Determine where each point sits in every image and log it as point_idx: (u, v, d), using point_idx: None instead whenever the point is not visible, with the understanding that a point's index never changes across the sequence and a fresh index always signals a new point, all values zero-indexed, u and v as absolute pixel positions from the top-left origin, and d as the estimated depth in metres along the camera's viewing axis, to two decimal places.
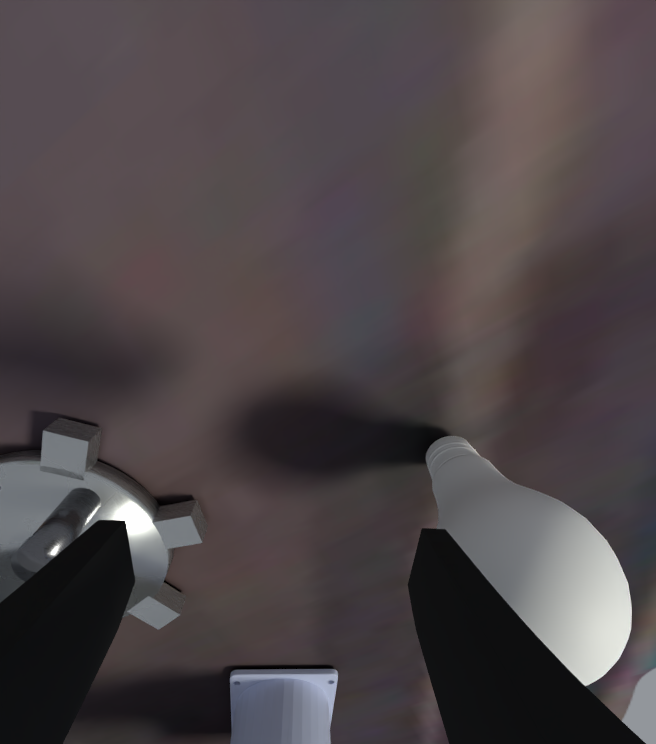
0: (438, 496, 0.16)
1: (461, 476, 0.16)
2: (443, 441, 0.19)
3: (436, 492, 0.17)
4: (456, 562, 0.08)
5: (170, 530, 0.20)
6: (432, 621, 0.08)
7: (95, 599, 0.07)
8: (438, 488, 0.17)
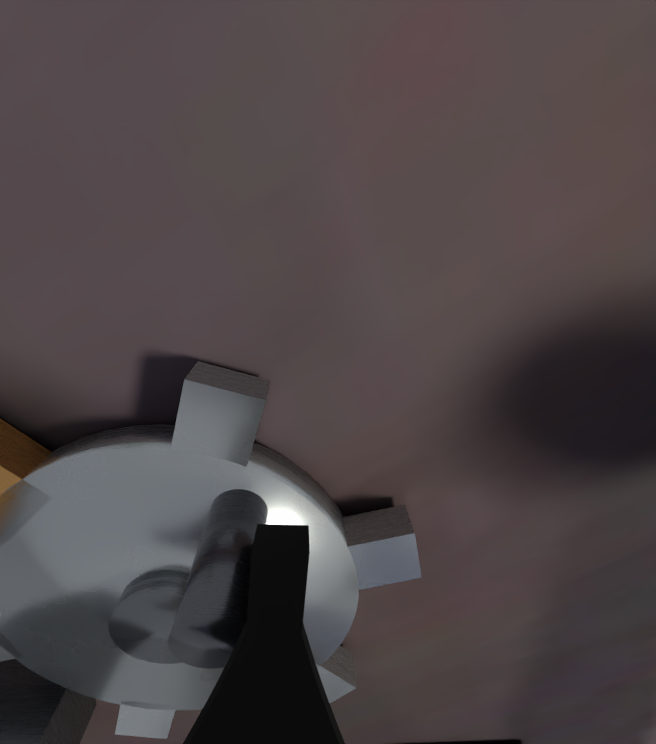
0: None
1: None
2: None
3: None
4: (266, 558, 0.07)
5: (374, 559, 0.11)
6: None
7: None
8: None
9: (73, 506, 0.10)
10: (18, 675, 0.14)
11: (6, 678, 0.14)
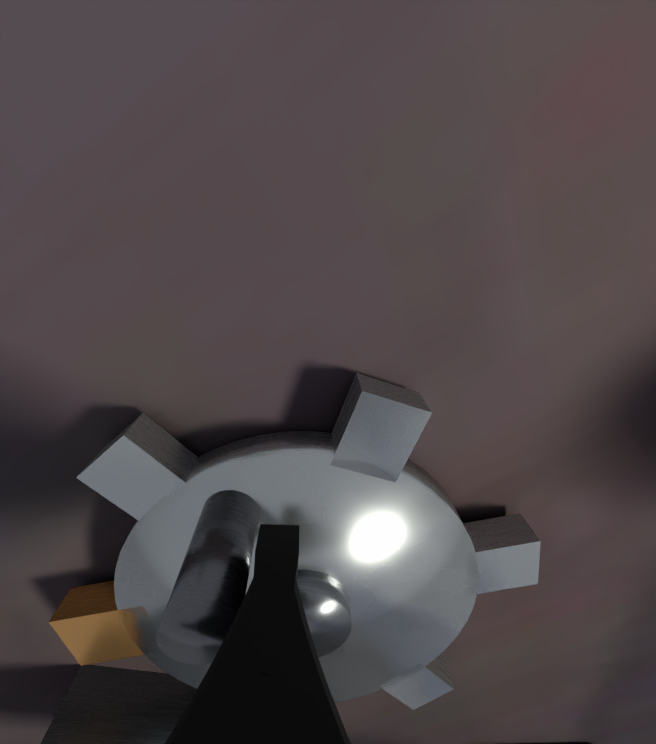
0: None
1: None
2: None
3: None
4: (270, 558, 0.07)
5: (369, 441, 0.10)
6: None
7: None
8: None
9: (158, 600, 0.12)
10: (148, 690, 0.15)
11: (138, 691, 0.15)
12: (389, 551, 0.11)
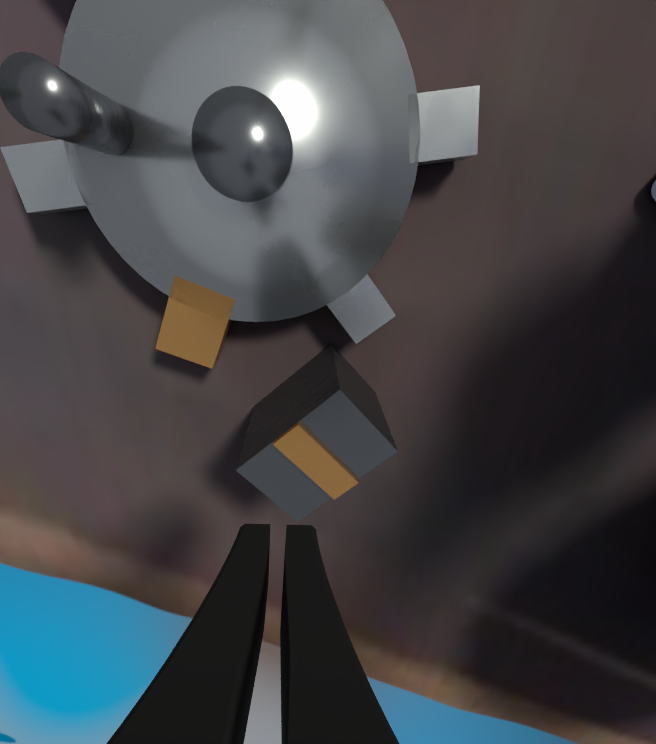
0: None
1: None
2: None
3: None
4: (301, 559, 0.07)
5: None
6: (282, 619, 0.08)
7: (261, 600, 0.08)
8: None
9: (174, 260, 0.14)
10: (298, 375, 0.17)
11: (292, 380, 0.17)
12: (225, 13, 0.11)
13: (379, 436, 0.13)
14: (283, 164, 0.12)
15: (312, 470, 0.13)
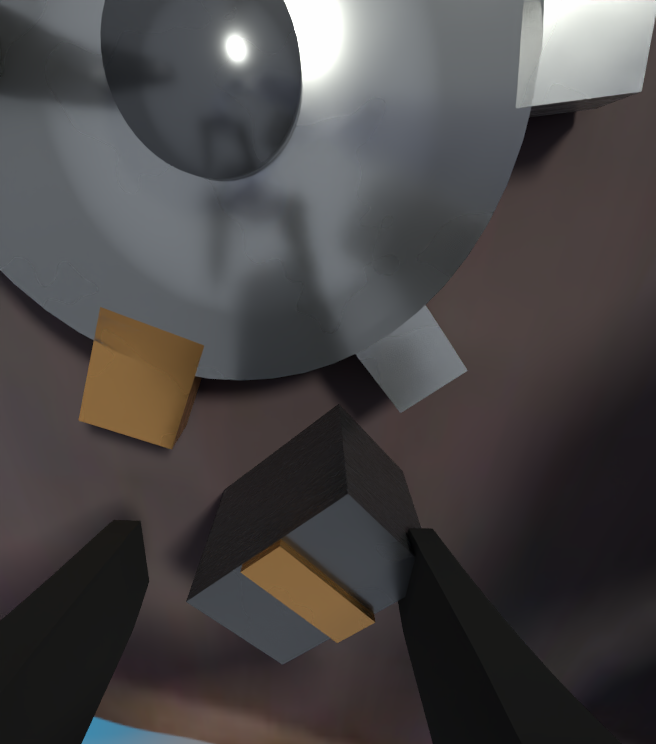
0: None
1: None
2: None
3: None
4: (441, 562, 0.08)
5: None
6: (417, 620, 0.08)
7: (113, 599, 0.07)
8: None
9: (98, 282, 0.08)
10: None
11: None
12: None
13: (409, 559, 0.08)
14: (283, 104, 0.06)
15: (303, 605, 0.09)
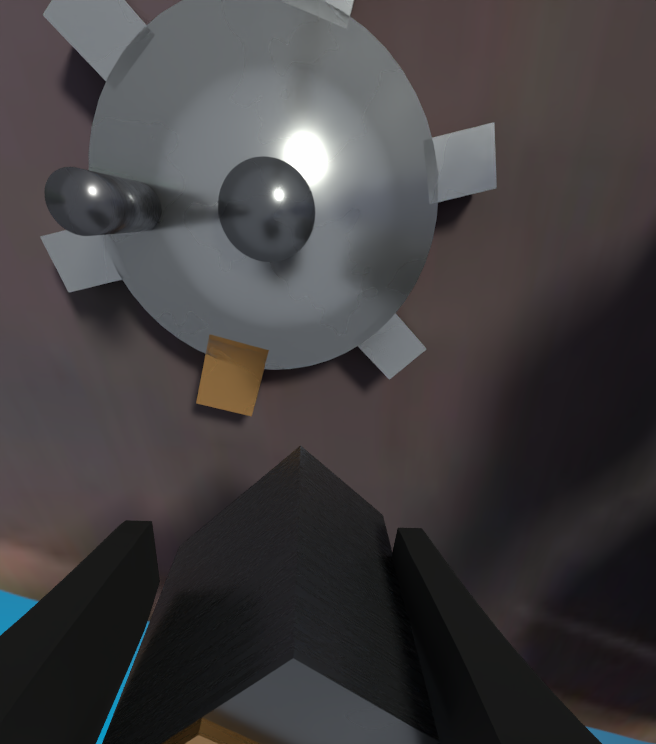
0: None
1: None
2: None
3: None
4: (428, 561, 0.08)
5: (99, 37, 0.11)
6: None
7: (126, 599, 0.07)
8: None
9: (209, 320, 0.14)
10: (244, 507, 0.09)
11: (234, 518, 0.09)
12: (240, 88, 0.11)
13: (396, 725, 0.06)
14: (307, 223, 0.12)
15: None
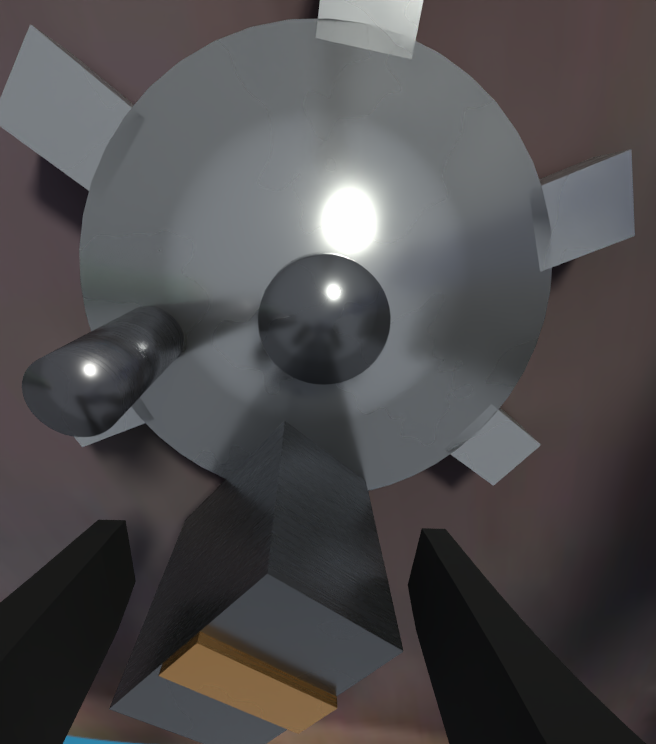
0: None
1: None
2: None
3: None
4: (456, 562, 0.08)
5: (71, 135, 0.08)
6: (432, 621, 0.08)
7: (95, 599, 0.07)
8: None
9: None
10: (238, 477, 0.11)
11: (230, 487, 0.11)
12: (269, 167, 0.08)
13: (363, 635, 0.07)
14: (380, 329, 0.09)
15: (245, 701, 0.07)
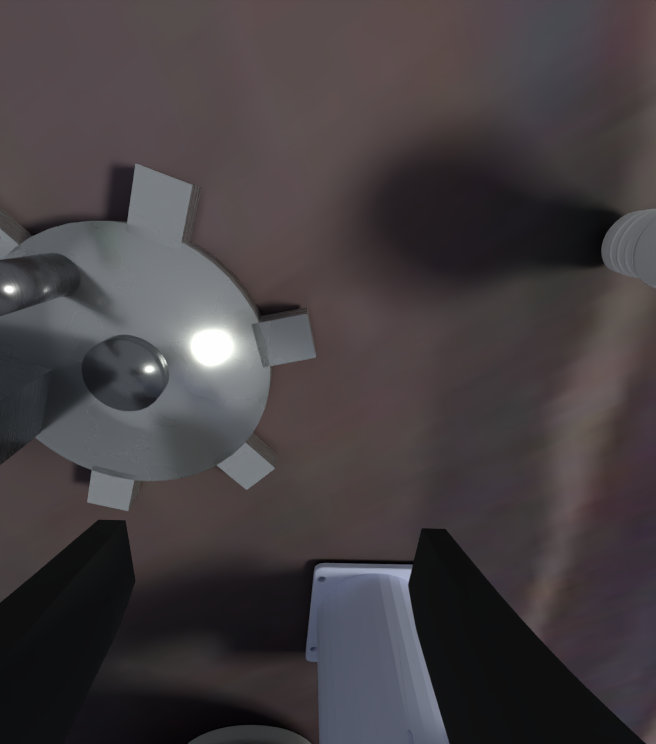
0: None
1: None
2: (634, 213, 0.15)
3: (653, 245, 0.13)
4: (456, 562, 0.08)
5: (150, 210, 0.13)
6: (432, 621, 0.08)
7: (96, 599, 0.07)
8: None
9: None
10: None
11: None
12: (189, 319, 0.15)
13: None
14: (136, 406, 0.16)
15: None
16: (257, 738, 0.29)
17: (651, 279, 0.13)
